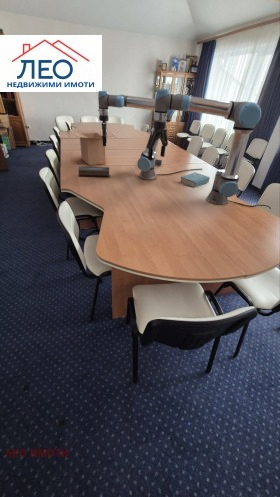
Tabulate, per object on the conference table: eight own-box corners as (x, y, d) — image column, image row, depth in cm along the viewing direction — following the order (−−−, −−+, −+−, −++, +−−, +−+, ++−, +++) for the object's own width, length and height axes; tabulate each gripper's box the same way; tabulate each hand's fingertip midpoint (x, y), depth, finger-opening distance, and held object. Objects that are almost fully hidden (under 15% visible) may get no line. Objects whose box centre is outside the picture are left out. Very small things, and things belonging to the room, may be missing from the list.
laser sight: (160, 167, 234) (161, 157, 228) (139, 164, 237) (140, 154, 231) (161, 164, 242) (162, 154, 236) (141, 162, 245) (142, 152, 239)
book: (194, 177, 213) (195, 172, 210) (208, 182, 204) (209, 177, 201) (179, 182, 200) (180, 176, 197) (194, 187, 191) (195, 182, 188)
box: (116, 165, 229) (116, 136, 213) (83, 168, 214) (80, 137, 198) (102, 154, 259) (101, 128, 243) (71, 156, 244) (68, 129, 228)
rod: (109, 174, 205) (109, 166, 200) (109, 177, 199) (108, 168, 194) (80, 174, 202) (79, 165, 197) (79, 176, 196) (78, 167, 191)
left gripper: (99, 113, 182) (100, 141, 195) (98, 116, 162) (99, 147, 175) (108, 113, 183) (109, 141, 196) (108, 117, 163) (109, 147, 176)
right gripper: (152, 123, 121) (149, 162, 134) (176, 120, 137) (171, 156, 150) (142, 121, 125) (139, 160, 138) (166, 119, 141) (162, 154, 154)
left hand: (104, 144), depth 185 cm, fingers open, 13 cm apart
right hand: (156, 158), depth 144 cm, fingers open, 13 cm apart
